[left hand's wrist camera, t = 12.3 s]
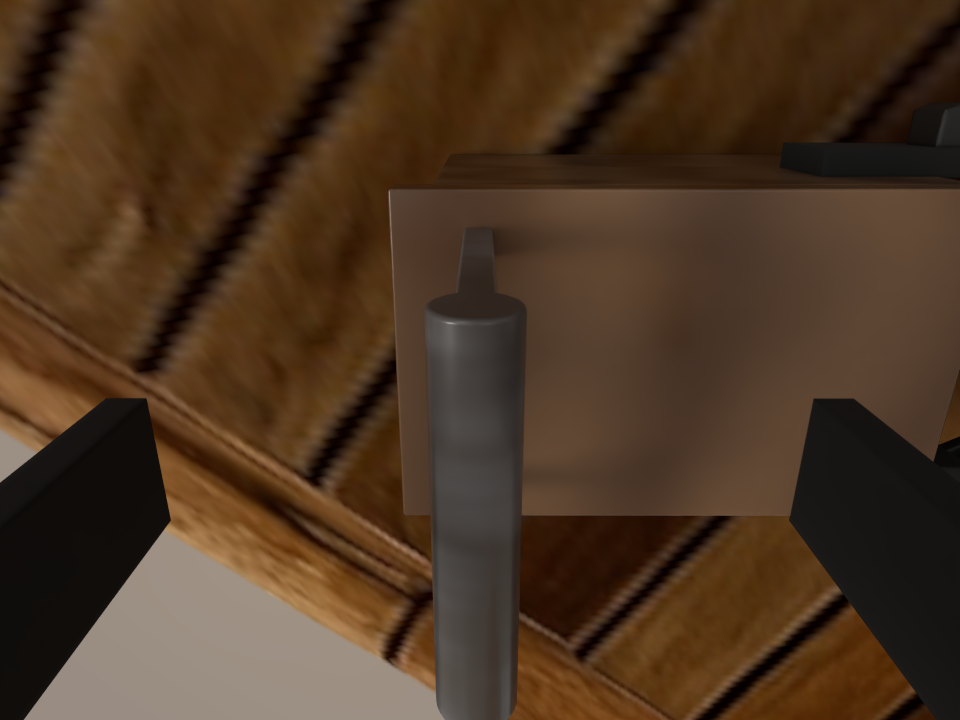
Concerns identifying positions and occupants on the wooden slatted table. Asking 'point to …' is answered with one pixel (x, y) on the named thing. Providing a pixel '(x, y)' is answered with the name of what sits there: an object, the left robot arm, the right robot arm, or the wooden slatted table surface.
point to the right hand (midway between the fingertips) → (774, 321)
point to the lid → (643, 364)
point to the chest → (643, 171)
